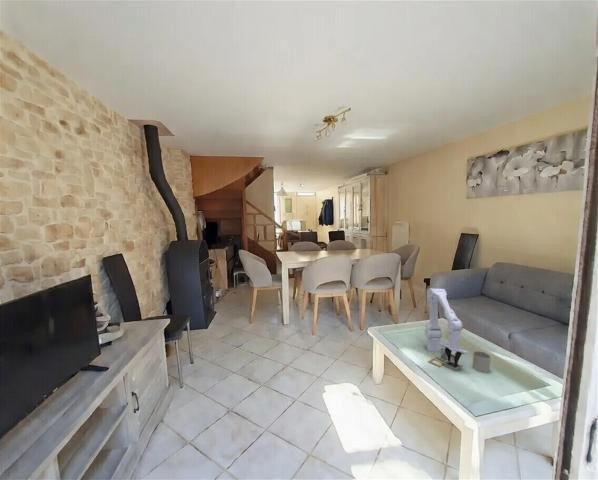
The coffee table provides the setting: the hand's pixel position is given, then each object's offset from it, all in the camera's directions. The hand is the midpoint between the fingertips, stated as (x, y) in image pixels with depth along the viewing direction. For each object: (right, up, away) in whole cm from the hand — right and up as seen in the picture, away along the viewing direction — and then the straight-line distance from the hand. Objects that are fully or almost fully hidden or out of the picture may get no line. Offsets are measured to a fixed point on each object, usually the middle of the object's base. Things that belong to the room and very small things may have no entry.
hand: (452, 361), depth 158 cm
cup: (+16, -5, -1) cm, 17 cm away
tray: (-7, -4, +5) cm, 9 cm away
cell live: (0, -2, 0) cm, 2 cm away
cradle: (+1, -4, +1) cm, 4 cm away
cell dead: (+1, -3, +11) cm, 11 cm away
